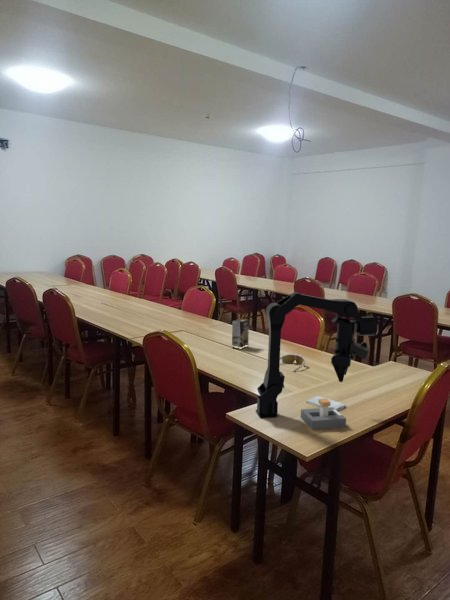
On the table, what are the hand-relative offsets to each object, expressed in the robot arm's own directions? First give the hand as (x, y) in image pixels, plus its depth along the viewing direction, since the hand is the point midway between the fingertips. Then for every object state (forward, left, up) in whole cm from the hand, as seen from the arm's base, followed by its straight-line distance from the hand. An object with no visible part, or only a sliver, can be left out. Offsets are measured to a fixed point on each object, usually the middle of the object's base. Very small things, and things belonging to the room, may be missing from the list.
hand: (342, 378), depth 155 cm
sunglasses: (+2, +59, -14) cm, 61 cm away
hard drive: (-2, +8, -14) cm, 16 cm away
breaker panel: (-10, -7, -13) cm, 18 cm away
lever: (-10, -7, -12) cm, 17 cm away
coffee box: (-13, +101, -13) cm, 103 cm away
